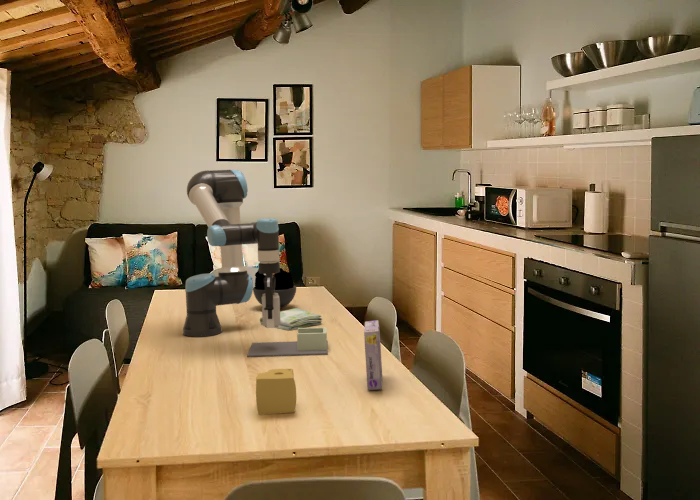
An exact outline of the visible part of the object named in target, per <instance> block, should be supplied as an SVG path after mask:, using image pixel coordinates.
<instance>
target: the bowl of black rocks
mask: <svg viewBox="0 0 700 500" xmlns="http://www.w3.org/2000/svg"><path fill="white" fill-rule="evenodd" d="M254 276H255V280H254V286H253V292H252V294H253V295H254V297H255V299H256V301H257V303H259V304H260V305H261V306H262V296H263V295H262V294H264V293H265V286H264V278H266V274H261V273H259V268H258V270H257V271H256V272H255V274H254ZM273 276H274V277H275V293H278V295H279V298H280V309H282V308H285V307H286V306H288V305H289V304H290V303H291V302H292V301H293V299H294V298H295V296H296V292H297V286H296V285H294V283H295V282H294V281H293V280H292V274H291V273H290V272H289V271H286V270H284V269H283V268H282V267H280V272H279V273H275V274H274V273H273Z"/></svg>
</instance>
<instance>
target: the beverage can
mask: <svg viewBox="0 0 700 500" xmlns="http://www.w3.org/2000/svg"><path fill="white" fill-rule="evenodd" d="M273 294H274V295H273V307H274V326H275V327H279V325H280V324H281V322H280V312H281V308H280V298H279V295H278V293H273ZM262 295H263V296H262V305H261V314H262V315H261V317H262V320H263V324H262V326H263V327H264V328H266V329H268V328H267V321H266V310H264V308H265V307H266V298H265V293H264V294H262ZM268 306H270V305H268Z"/></svg>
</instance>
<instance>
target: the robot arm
mask: <svg viewBox="0 0 700 500" xmlns="http://www.w3.org/2000/svg"><path fill="white" fill-rule="evenodd" d="M186 195H187V197H188V200H189V201H190V203H191V204H193V205H194V206H195V207H196V208H197V210H198V212H199V213H200V215H201V217H202V218H203V220H204V222H205V224H206V225H207V233H206V238H207V242H208V244H209V245H210V246H211V247H220V259H221V268H220V269H219V270H218V271H217V273H218V276H216V275H215V274H214V273H212V272H211V273H210V272H209V273H200V274H196V275H193V276H190V277H188V278H187V279H186V280H185V286H184V287H185V289H184V291H185V302H186V303H185V305H186V316H185V320H184V324H183V329H182V334H183V335H184V336H185V335H187V336H186V337H191V336H194V338H197V337H198V338H200V337H212V336H215V335H220V334H221V333H222V325H221V322H220V320H219V317H218V314H217V306H225V305H234V304H236V305H238V304H243V303H247V302H249V301H250V299H251V298H252V295H253V288H254V280H253V276H252V274H250V273H248V269H247V268H246V267H245V266H244V259H243V258H244V257H243V245H253V244H257V260H258V262H259V263H258V264H257V265H258V269H259V273H261V274H264V275H266V278H264V286H265V298H266V307H265V308H264V310H266V321H267V328H266V329H274V328H275V326H274V307H273V295H274V294H273V293H275V277H274V276H273V275H274V274H275V273H279V272H280V268H281V266H280V262H279V261H280V256H281V255H282V254H281V251H280V243H279V241H280V239H279V237H280V236H279V230H280V228H279V222H278V219H276V218H270V217H269V218H268V217H267V218H259V219H257V221H253V222H250V223H247V222H246V223H242V222H241V209H240V208H241V206H242V205H243V204H244V199H246V198H247V196H248V183H247V180H246V177H245V175H244V174H243V172H242V171H240V170H238V169H221V170H219V169H218V170H213V169H212V170H208V169H207V170H202V171H199V172H196V173H195V174H194V175H193V176H191V178H190V179H189V181H188V183H187V186H186ZM268 305H270V306H268Z"/></svg>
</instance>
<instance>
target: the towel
mask: <svg viewBox="0 0 700 500" xmlns="http://www.w3.org/2000/svg"><path fill="white" fill-rule="evenodd" d="M322 321H323V318H322V315H320V314H318V313H313V312H312V311H311V312H310V311H308V310H304V309H302V308H297V307H296V308H291V309H286V310H282V311H280V322H281V324H280V325H279V327H275V328H277V329H279V330H284V331H294V330H298V328H309V327H312V326H319V325H321V324H322ZM259 322H260V324H261V325H263V320H262V316H261V317H260V318H259Z"/></svg>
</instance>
